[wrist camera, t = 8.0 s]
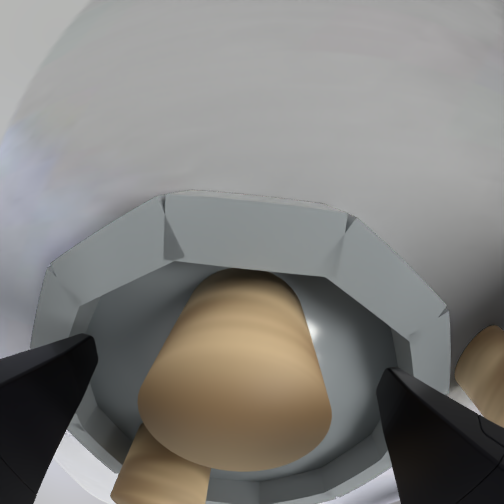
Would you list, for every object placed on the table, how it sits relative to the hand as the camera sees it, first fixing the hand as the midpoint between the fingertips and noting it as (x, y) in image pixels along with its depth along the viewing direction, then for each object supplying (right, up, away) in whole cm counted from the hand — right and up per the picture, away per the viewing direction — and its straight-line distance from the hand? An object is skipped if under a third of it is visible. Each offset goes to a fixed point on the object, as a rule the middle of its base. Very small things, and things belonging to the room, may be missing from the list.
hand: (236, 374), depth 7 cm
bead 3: (+15, -3, +4) cm, 16 cm away
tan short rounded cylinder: (-4, -7, +5) cm, 10 cm away
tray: (0, -4, +5) cm, 6 cm away
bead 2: (0, +1, +3) cm, 3 cm away
